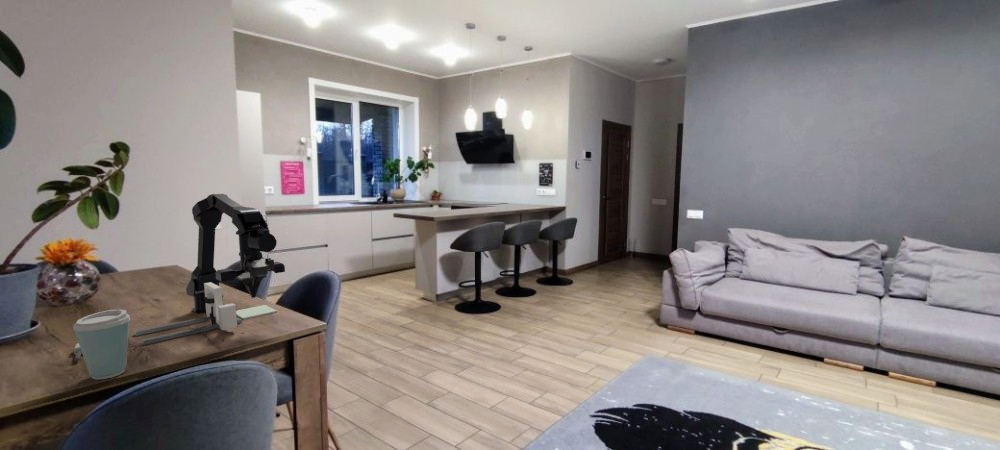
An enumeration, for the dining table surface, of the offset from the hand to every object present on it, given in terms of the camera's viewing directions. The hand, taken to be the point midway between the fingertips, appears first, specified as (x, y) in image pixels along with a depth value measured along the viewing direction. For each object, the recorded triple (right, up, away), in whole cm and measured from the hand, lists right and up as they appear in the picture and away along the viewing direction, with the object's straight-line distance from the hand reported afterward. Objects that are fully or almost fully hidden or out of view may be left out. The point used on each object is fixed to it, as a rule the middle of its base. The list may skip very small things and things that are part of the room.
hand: (253, 297), depth 146 cm
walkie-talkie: (-35, -12, -17) cm, 41 cm away
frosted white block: (-11, -8, +1) cm, 14 cm away
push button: (-15, -9, +4) cm, 18 cm away
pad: (-8, -8, +16) cm, 19 cm away
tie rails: (-19, -10, -1) cm, 22 cm away
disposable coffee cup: (-17, -14, -34) cm, 40 cm away
